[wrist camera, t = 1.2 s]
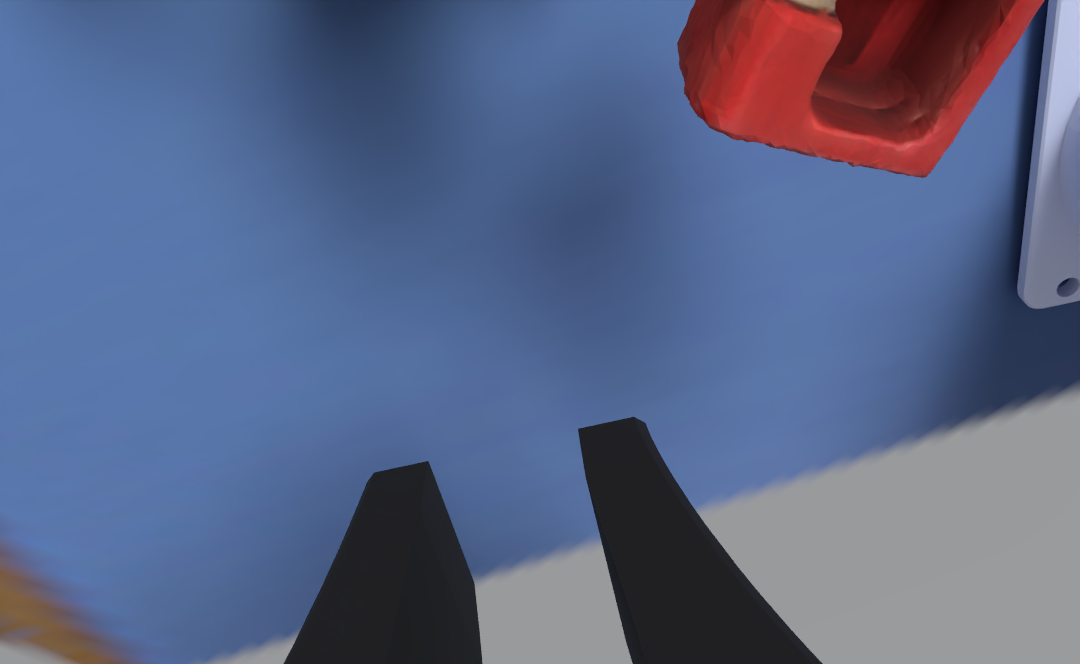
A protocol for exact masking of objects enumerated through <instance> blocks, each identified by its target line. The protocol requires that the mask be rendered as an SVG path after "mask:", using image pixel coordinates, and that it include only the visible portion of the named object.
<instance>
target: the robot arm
mask: <svg viewBox="0 0 1080 664" xmlns="http://www.w3.org/2000/svg"><path fill="white" fill-rule="evenodd" d="M1068 278H1069V281H1068V282H1067V283H1066V284H1065V285H1063V286H1061V287H1058V285H1059V284H1060V283H1061V282H1062V281H1063V280H1066V279H1068ZM1017 291H1018V296H1019V297H1020V298H1021V299H1022V300H1023V301H1024V302H1025V303H1026V305H1027V306H1028V307H1031V308H1034V309H1043V308H1048V307H1052V306H1057V305H1062V304H1067V303H1071V302H1076V301H1080V0H1049V2H1048V11H1047V21H1046V30H1045V39H1044V48H1043V57H1042V66H1041V75H1040V84H1039V94H1038V103H1037V112H1036V121H1035V130H1034V139H1033V148H1032V157H1031V166H1030V176H1029V185H1028V194H1027V203H1026V212H1025V221H1024V230H1023V239H1022V249H1021V258H1020V267H1019V276H1018V285H1017ZM578 432H579V438H580V444H581V451H582V457H583V463H584V469H585V475H586V480H587V484H588V488H589V492H590V496H591V500H592V504H593V508H594V512H595V517H596V521H597V525H598V529H599V533H600V537H601V541H602V545H603V549H604V553H605V557H606V561H607V565H608V569H609V573H610V578H611V582H612V586H613V590H614V594H615V598H616V602H617V606H618V610H619V614H620V618H621V622H622V626H623V630H624V635H625V639H626V643H627V646H628V649H629V653H630V656H631V659H632V663H633V664H822V663H821V662H820V661H819V660H818V659H817V658H816V656H815V655H814V654H813V653H812V652H811V651H810V650H809V649H808V648H807V647H806V646H805V645H804V643H803V642H802V641H801V640H800V639H799V638H798V637H797V636H796V635H795V634H794V632H793V631H791V629H790V628H789V627H788V626H787V625H786V624H785V622H784V621H783V620H782V619H781V618H780V617H779V615H778V614H777V613H776V612H775V611H774V610H773V608H772V607H771V606H770V605H769V604H768V603H767V602H766V601H765V599H764V598H763V597H762V596H761V595H760V593H759V592H758V591H757V590H756V589H755V587H754V586H753V585H752V584H751V583H750V581H749V580H748V579H747V578H746V576H745V575H744V574H743V573H742V572H741V570H740V569H739V568H738V567H737V565H736V564H735V563H734V561H733V560H732V559H731V557H730V556H729V555H728V553H727V552H726V551H725V549H724V548H723V547H722V546H721V544H720V543H719V542H718V540H717V539H716V538H715V536H714V535H713V534H712V533H711V531H710V530H709V529H708V527H707V526H706V525H705V523H704V522H703V520H702V519H701V518H700V516H699V515H698V513H697V512H696V510H695V509H694V508H693V506H692V505H691V503H690V502H689V500H688V499H687V497H686V496H685V494H684V493H683V491H682V490H681V488H680V487H679V485H678V483H677V482H676V480H675V479H674V477H673V476H672V474H671V472H670V471H669V469H668V467H667V466H666V464H665V462H664V461H663V459H662V457H661V455H660V453H659V452H658V450H657V448H656V446H655V444H654V442H653V440H652V438H651V436H650V433H649V431H648V428H647V426H646V423H644V422H642V421H641V420H639V419H637V418H635V417H631V418H626V419H622V420H617V421H612V422H608V423H603V424H598V425H594V426H589V427H585V428H580V429H578ZM284 664H482V654H481V644H480V632H479V623H478V613H477V604H476V595H475V585H474V581H473V578H472V576H471V573H470V570H469V568H468V565H467V562H466V560H465V557H464V554H463V552H462V549H461V546H460V544H459V541H458V539H457V536H456V533H455V531H454V528H453V525H452V523H451V520H450V517H449V515H448V512H447V509H446V507H445V504H444V501H443V499H442V496H441V493H440V491H439V488H438V485H437V483H436V480H435V477H434V475H433V472H432V469H431V467H430V464H429V462H428V461H427V462H422V463H417V464H413V465H408V466H403V467H399V468H394V469H389V470H385V471H380V472H375V473H374V474H373V475H372V476H371V478H370V479H369V481H368V482H367V484H366V487H365V489H364V491H363V494H362V496H361V499H360V501H359V504H358V506H357V508H356V511H355V513H354V516H353V518H352V520H351V523H350V525H349V527H348V530H347V532H346V534H345V537H344V539H343V541H342V544H341V546H340V548H339V550H338V553H337V555H336V557H335V559H334V561H333V564H332V566H331V568H330V570H329V572H328V575H327V577H326V579H325V581H324V583H323V586H322V588H321V590H320V592H319V594H318V596H317V598H316V600H315V602H314V604H313V606H312V608H311V610H310V612H309V614H308V616H307V618H306V620H305V622H304V624H303V626H302V629H301V631H300V633H299V635H298V637H297V639H296V641H295V643H294V645H293V647H292V649H291V651H290V653H289V655H288V656H287V658H286V661H285V662H284Z"/></svg>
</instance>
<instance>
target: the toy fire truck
mask: <svg viewBox="0 0 1080 664" xmlns="http://www.w3.org/2000/svg"><path fill="white" fill-rule="evenodd" d="M1044 1H1045V0H696V1H695V4H694V6H693V8H692V9H691V11H690V14H689V17H688V21H687V24H686V26H685V28H684V30H683V32H682V34H681V36H680V38H679V41H678V43H677V44H678V53H679V66H680V70H681V71H682V75H683V77H684V81H685V87H684V94H685V95H686V96H687V98H688V100H689V101H690V105H691V107H692V108H693V110H694V111H695V113H696V114H697V116H698V117H700V118H701V119H703V120H704V121H705V123H706V124H707V125H708V126H709V128H711V129H713V130H716V131H718V132H721V133H724V134H725V135H727V136H729V137H730V138H732V139H735V140H744V141H746V142H758V143H763V144H766V145H767V146H769V147H773V148H778V149H785V150H789V151H794V152H797V153H800V154H803V155H807V156H812V157H822V158H825V159H827V160H831V161H836V162H847V163H848V164H850V165H851V166H853V167H855V166H863V167H869V168H875V169H881V170H886V171H889V172H893V173H896V174H905V175H907V176H915V177H923V178H924V177H926V176H928V174H929V173H930V172H931V171H932V170H933V168H934V167H935V166H936V164H937V163H938V161H939V160H940V158H941V157H942V155H943V154H944V152H945V151H946V150H947V148H948V147H949V146H950V145H951V143H952V142H953V141H954V139H955V137H956V135H957V134H958V132H959V130H960V128H961V126H962V125H963V123H964V122H965V121H966V119H967V118H968V116H969V115H970V113H971V112H972V110H973V109H974V107H975V106H976V104H977V102H978V101H979V99H980V98H981V96H982V94H983V93H984V92H985V90H986V89H987V88H988V86H989V85H990V84H991V82H992V81H993V79H994V77H995V75H996V73H997V72H998V70H999V68H1000V66H1001V65H1002V64H1003V62H1004V61H1005V60H1006V58H1007V57H1008V55H1009V54H1010V52H1011V51H1012V49H1013V48H1014V47H1015V45H1016V44H1017V42H1018V41H1019V39H1020V37H1021V36H1022V34H1023V33H1024V31H1025V30H1026V28H1027V26H1028V25H1029V23H1030V22H1031V20H1032V19H1033V17H1034V15H1035V14H1036V12H1037V11H1038V9H1039V8H1040V6H1041V5H1042V4H1043V2H1044Z"/></svg>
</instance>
